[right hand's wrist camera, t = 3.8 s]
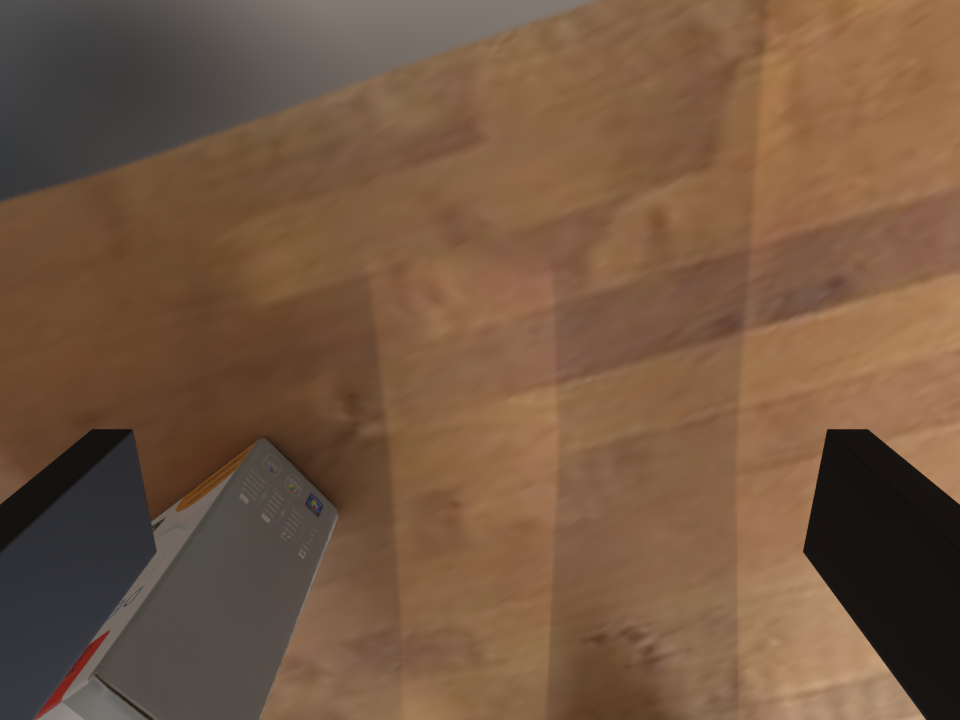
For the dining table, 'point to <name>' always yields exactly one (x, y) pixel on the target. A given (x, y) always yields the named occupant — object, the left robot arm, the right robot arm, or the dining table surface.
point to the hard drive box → (208, 601)
